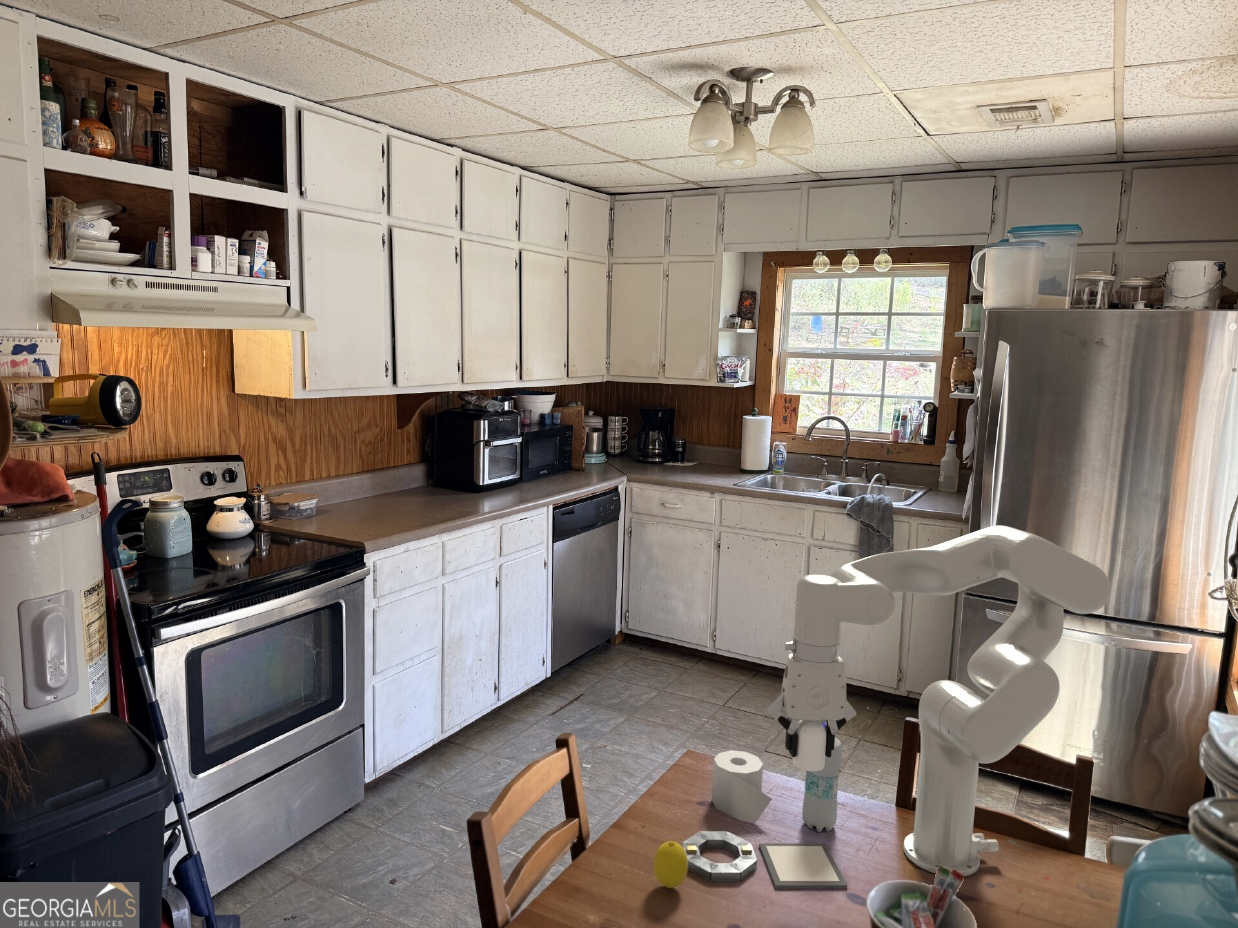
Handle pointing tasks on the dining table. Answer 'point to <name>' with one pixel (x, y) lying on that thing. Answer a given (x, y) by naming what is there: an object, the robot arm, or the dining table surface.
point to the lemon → (670, 864)
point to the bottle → (823, 792)
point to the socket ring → (720, 870)
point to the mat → (802, 866)
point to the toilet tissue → (739, 785)
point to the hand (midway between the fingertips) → (809, 752)
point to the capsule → (810, 745)
